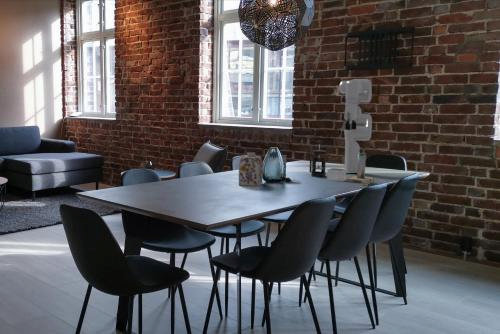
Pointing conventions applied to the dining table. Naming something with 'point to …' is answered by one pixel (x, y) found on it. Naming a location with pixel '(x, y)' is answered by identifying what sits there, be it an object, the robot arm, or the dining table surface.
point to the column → (361, 165)
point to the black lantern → (313, 164)
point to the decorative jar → (250, 170)
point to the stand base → (336, 174)
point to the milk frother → (285, 167)
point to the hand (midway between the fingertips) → (350, 129)
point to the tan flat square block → (360, 180)
